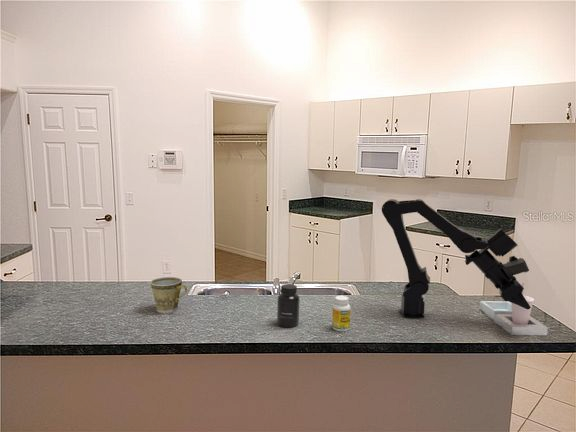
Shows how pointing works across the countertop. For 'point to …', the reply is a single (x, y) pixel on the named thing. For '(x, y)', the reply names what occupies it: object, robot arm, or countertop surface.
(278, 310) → the supplement bottle
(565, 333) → the countertop surface
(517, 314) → the smoothie
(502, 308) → the tray
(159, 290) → the ceramic cup
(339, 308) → the supplement bottle
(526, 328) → the bore block
